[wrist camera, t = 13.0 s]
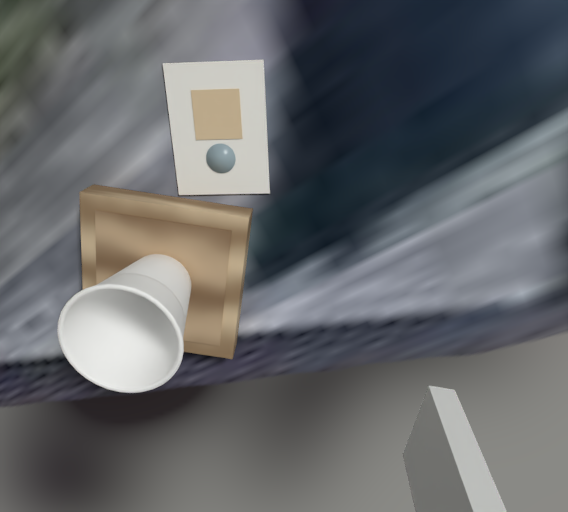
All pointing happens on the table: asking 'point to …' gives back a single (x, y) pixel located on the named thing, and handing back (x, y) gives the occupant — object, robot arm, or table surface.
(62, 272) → the table surface
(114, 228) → the plinth block
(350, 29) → the table surface
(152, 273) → the cup
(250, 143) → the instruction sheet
